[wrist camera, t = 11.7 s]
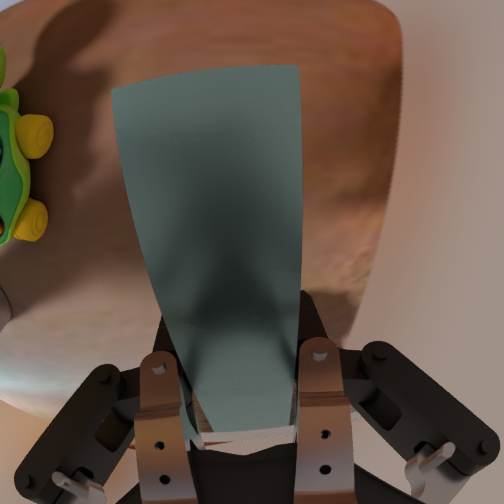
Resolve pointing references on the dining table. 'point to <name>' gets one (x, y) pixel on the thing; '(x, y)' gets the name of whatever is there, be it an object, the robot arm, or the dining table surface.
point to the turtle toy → (20, 166)
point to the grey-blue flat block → (222, 234)
